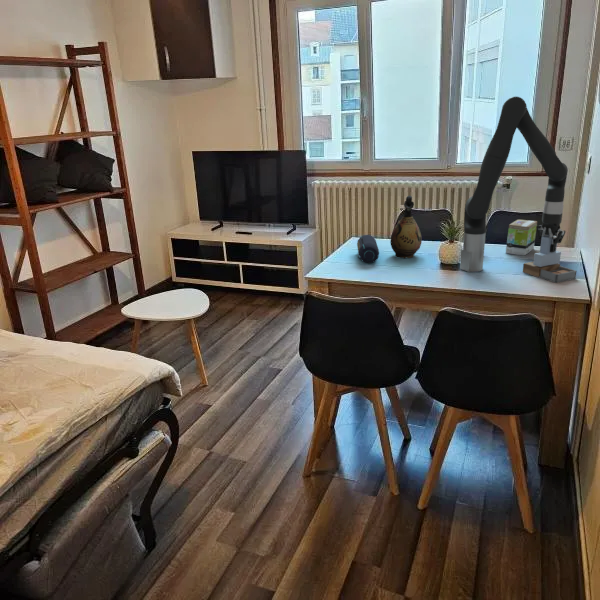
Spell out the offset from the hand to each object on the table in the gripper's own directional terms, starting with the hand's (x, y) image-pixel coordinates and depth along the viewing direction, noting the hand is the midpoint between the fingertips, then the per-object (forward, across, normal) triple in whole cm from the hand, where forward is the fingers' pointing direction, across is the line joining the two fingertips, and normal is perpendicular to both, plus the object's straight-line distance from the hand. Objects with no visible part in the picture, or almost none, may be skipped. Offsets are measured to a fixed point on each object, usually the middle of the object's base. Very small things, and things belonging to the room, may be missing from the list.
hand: (547, 250), depth 229 cm
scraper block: (+6, 0, 0) cm, 6 cm away
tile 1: (+8, +8, -3) cm, 11 cm away
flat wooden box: (+11, -2, 0) cm, 11 cm away
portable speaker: (+11, -63, -53) cm, 83 cm away
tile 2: (+8, +7, +3) cm, 11 cm away
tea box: (+11, -33, +18) cm, 40 cm away
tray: (+11, +7, 0) cm, 13 cm away
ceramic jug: (+11, -56, -35) cm, 67 cm away
